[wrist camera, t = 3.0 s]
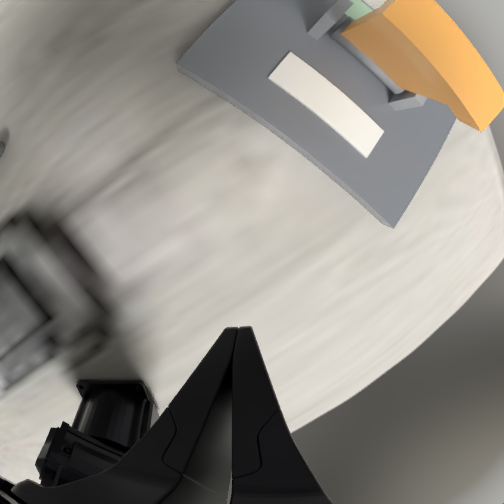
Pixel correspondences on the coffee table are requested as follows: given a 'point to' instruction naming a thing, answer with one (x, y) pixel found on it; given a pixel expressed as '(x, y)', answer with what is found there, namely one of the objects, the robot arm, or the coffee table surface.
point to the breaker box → (322, 97)
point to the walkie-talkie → (2, 148)
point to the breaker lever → (424, 58)
